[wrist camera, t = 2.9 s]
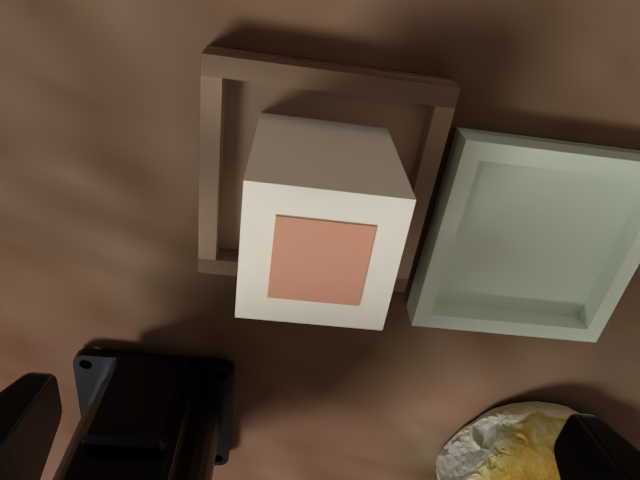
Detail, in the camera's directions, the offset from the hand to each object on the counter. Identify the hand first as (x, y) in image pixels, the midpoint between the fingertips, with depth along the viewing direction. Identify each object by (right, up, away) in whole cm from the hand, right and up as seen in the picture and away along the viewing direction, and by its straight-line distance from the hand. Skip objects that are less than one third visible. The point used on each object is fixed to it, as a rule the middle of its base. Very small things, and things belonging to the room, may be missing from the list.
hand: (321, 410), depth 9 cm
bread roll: (+10, -8, +17) cm, 21 cm away
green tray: (+8, +3, +10) cm, 13 cm away
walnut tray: (0, +5, +8) cm, 10 cm away
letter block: (0, +5, +8) cm, 10 cm away
